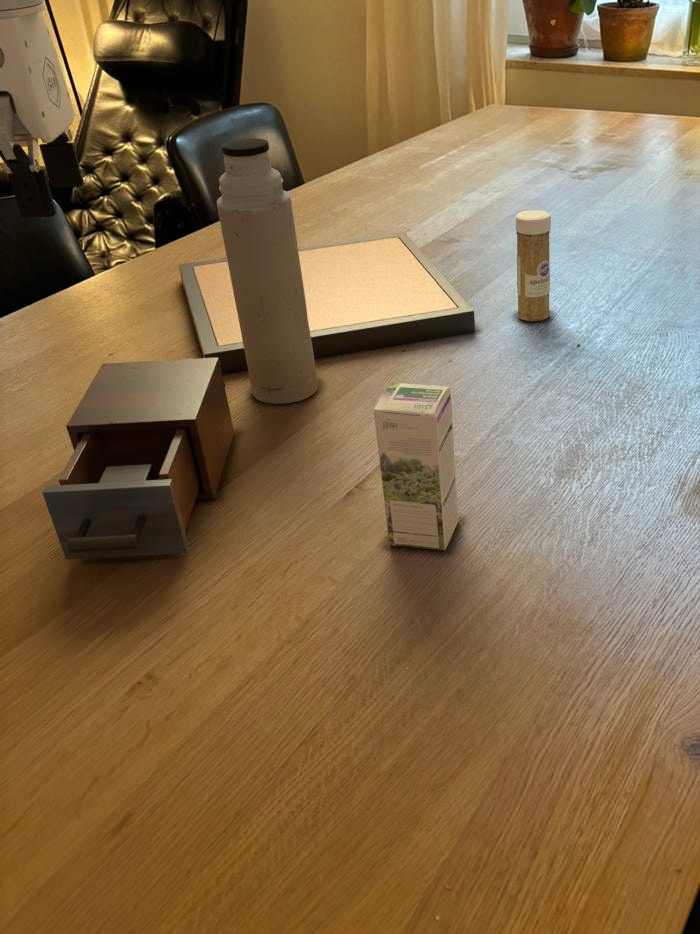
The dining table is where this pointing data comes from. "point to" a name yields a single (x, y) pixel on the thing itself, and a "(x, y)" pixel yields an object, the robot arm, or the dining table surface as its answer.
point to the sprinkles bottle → (533, 264)
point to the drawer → (126, 495)
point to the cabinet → (162, 407)
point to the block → (128, 473)
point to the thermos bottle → (265, 274)
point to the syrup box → (417, 464)
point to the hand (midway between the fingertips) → (54, 201)
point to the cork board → (338, 299)
